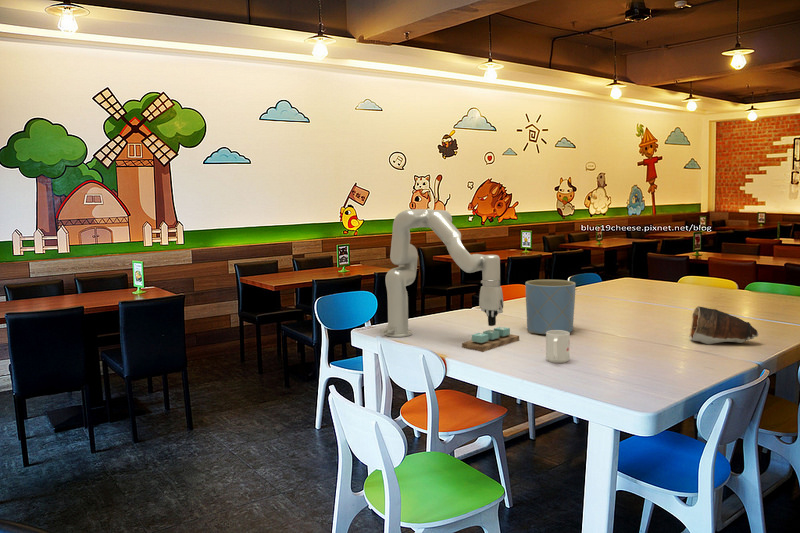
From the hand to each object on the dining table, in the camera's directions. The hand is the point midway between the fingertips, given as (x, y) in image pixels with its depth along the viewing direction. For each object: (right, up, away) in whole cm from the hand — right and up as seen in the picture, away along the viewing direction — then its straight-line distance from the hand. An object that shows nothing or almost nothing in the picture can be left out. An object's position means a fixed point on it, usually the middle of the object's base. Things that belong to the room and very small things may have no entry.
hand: (492, 325), depth 261 cm
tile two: (0, -6, +1) cm, 6 cm away
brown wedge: (+98, -7, -4) cm, 99 cm away
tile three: (+5, -5, +7) cm, 10 cm away
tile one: (-6, -6, -5) cm, 10 cm away
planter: (+31, -6, +22) cm, 38 cm away
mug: (+21, -11, -29) cm, 37 cm away
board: (0, -8, +1) cm, 8 cm away
